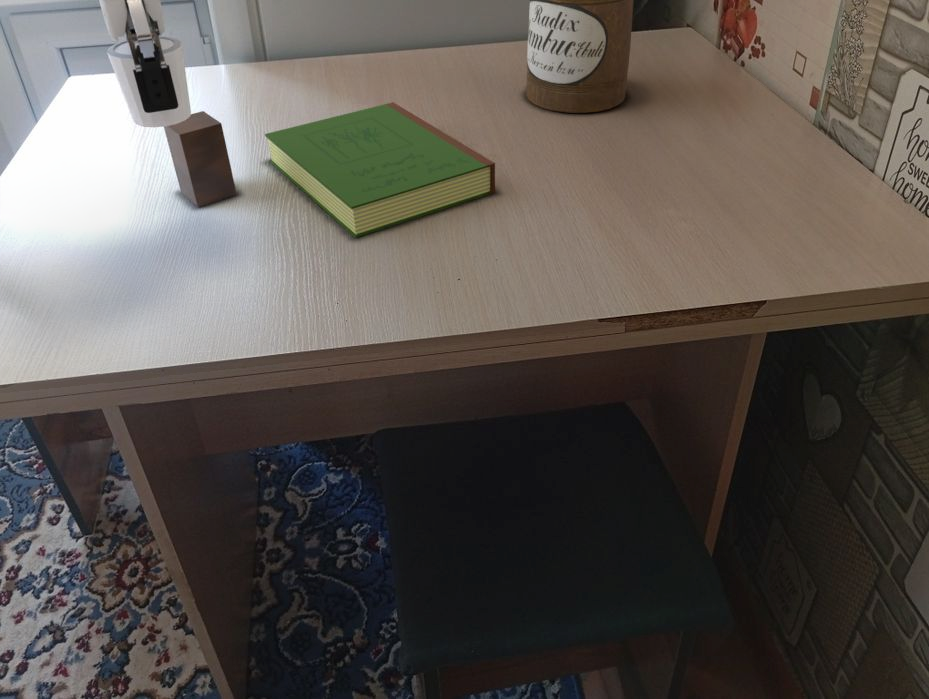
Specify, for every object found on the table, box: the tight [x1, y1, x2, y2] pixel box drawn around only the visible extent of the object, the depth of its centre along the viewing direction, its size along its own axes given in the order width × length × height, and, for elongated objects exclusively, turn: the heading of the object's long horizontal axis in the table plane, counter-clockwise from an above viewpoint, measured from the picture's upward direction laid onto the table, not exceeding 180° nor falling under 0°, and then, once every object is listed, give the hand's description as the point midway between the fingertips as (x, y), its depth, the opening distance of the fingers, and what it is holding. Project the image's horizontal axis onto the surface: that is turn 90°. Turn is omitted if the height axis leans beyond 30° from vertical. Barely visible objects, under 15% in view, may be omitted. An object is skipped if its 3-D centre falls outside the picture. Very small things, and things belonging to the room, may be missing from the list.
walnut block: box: [163, 110, 238, 208], centre depth 92 cm, size 5×5×9 cm
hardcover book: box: [264, 101, 496, 239], centre depth 97 cm, size 25×19×4 cm
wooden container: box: [526, 0, 634, 114], centre depth 112 cm, size 15×15×22 cm
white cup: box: [106, 36, 192, 128], centre depth 77 cm, size 7×7×7 cm
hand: (156, 95), depth 78 cm, fingers closed on white cup, 6 cm apart
